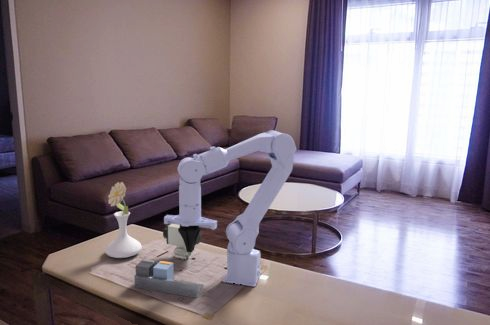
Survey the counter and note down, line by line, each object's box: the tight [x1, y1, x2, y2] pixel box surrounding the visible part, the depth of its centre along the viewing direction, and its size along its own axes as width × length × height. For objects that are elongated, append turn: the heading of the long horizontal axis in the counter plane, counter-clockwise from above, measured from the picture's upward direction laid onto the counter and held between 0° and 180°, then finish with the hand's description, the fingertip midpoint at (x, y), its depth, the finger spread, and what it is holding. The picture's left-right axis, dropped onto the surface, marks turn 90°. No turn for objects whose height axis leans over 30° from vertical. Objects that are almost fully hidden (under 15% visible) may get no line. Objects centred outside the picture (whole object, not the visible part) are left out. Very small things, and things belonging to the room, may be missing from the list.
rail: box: [134, 258, 205, 298], centre depth 97 cm, size 18×5×6 cm, turn 76°
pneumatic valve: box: [162, 224, 203, 260], centre depth 115 cm, size 6×12×12 cm, turn 70°
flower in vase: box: [104, 181, 143, 259], centre depth 114 cm, size 13×11×25 cm
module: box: [153, 260, 175, 280], centre depth 98 cm, size 4×4×5 cm
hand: (190, 250), depth 97 cm, fingers closed
